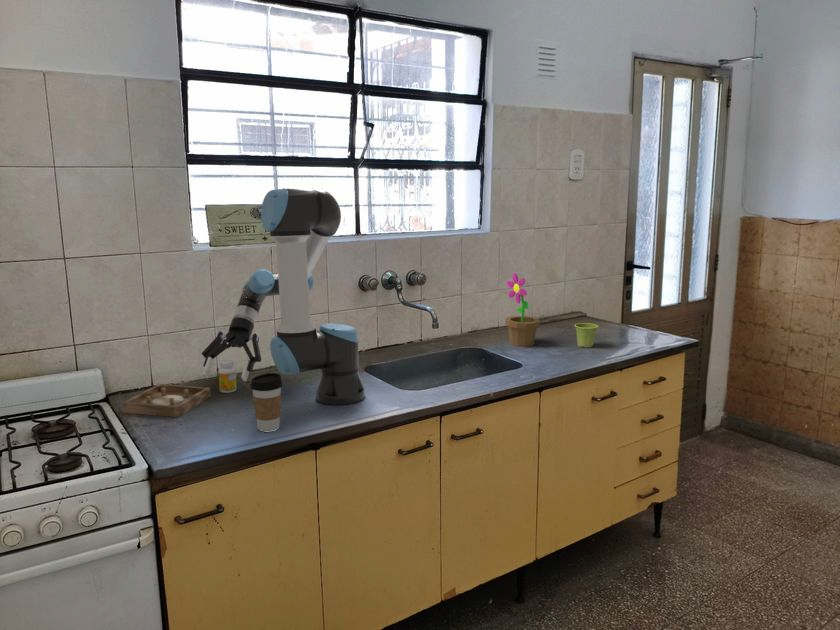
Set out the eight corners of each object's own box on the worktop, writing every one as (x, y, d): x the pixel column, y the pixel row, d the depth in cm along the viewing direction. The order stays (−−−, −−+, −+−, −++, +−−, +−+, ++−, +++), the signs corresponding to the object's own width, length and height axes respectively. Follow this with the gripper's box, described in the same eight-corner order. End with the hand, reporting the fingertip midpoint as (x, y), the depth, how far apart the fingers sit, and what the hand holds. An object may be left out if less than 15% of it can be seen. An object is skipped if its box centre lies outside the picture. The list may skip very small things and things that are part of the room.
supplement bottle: (216, 390, 209) (214, 361, 207) (230, 386, 213) (229, 358, 211) (225, 394, 206) (223, 365, 204) (240, 390, 210) (238, 361, 208)
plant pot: (580, 349, 260) (581, 328, 258) (569, 343, 269) (570, 323, 267) (601, 348, 262) (602, 327, 260) (589, 342, 271) (591, 322, 269)
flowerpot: (497, 342, 271) (499, 271, 264) (523, 337, 278) (525, 268, 272) (520, 349, 259) (523, 276, 253) (546, 345, 267) (549, 273, 260)
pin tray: (159, 392, 207) (158, 382, 206) (210, 396, 203) (209, 385, 203) (123, 412, 190) (121, 400, 189) (178, 417, 186) (177, 405, 185)
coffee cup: (289, 430, 177) (287, 377, 174) (259, 437, 172) (257, 383, 169) (277, 420, 184) (274, 370, 181) (248, 427, 179) (245, 375, 176)
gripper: (281, 329, 218) (264, 386, 207) (214, 326, 223) (193, 380, 212) (274, 318, 212) (255, 375, 201) (205, 314, 217) (183, 369, 206)
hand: (224, 378), depth 207 cm, fingers open, 13 cm apart
